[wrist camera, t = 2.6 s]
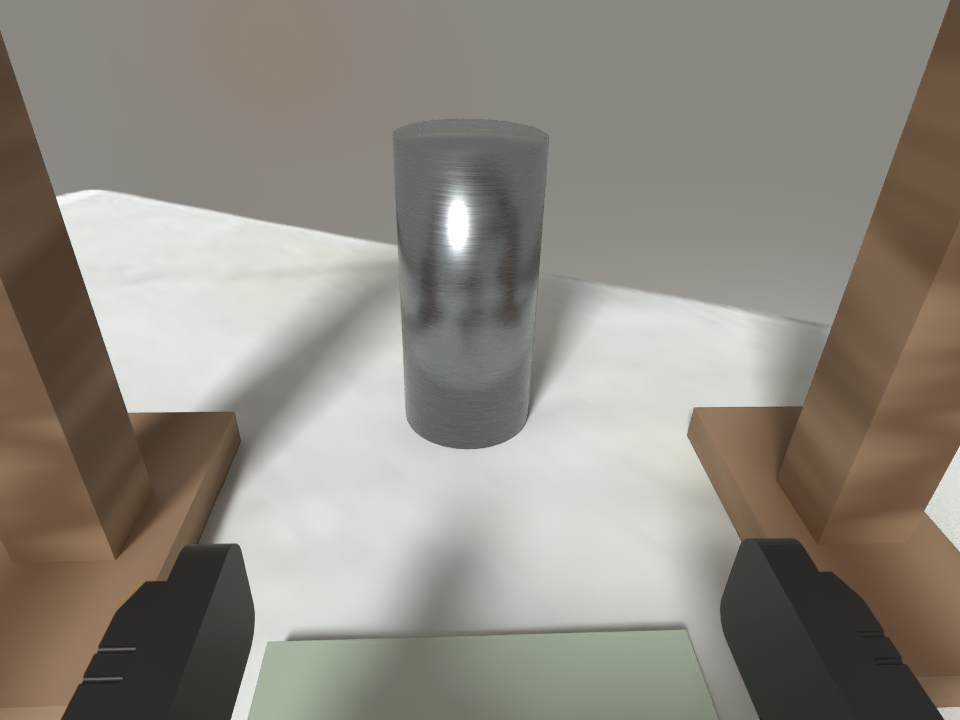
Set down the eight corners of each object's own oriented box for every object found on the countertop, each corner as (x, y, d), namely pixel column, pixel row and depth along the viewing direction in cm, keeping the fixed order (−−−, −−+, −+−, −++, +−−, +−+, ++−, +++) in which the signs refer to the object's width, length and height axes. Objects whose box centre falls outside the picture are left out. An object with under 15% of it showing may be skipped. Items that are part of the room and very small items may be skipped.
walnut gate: (821, 433, 28) (1118, -326, 15) (1037, 703, 18) (2407, -874, 5) (92, 442, 26) (-231, -403, 14) (-130, 746, 16) (-2120, -1429, 4)
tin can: (477, 364, 32) (484, 113, 26) (553, 417, 28) (582, 140, 22) (383, 402, 29) (363, 129, 23) (453, 466, 25) (453, 162, 19)
